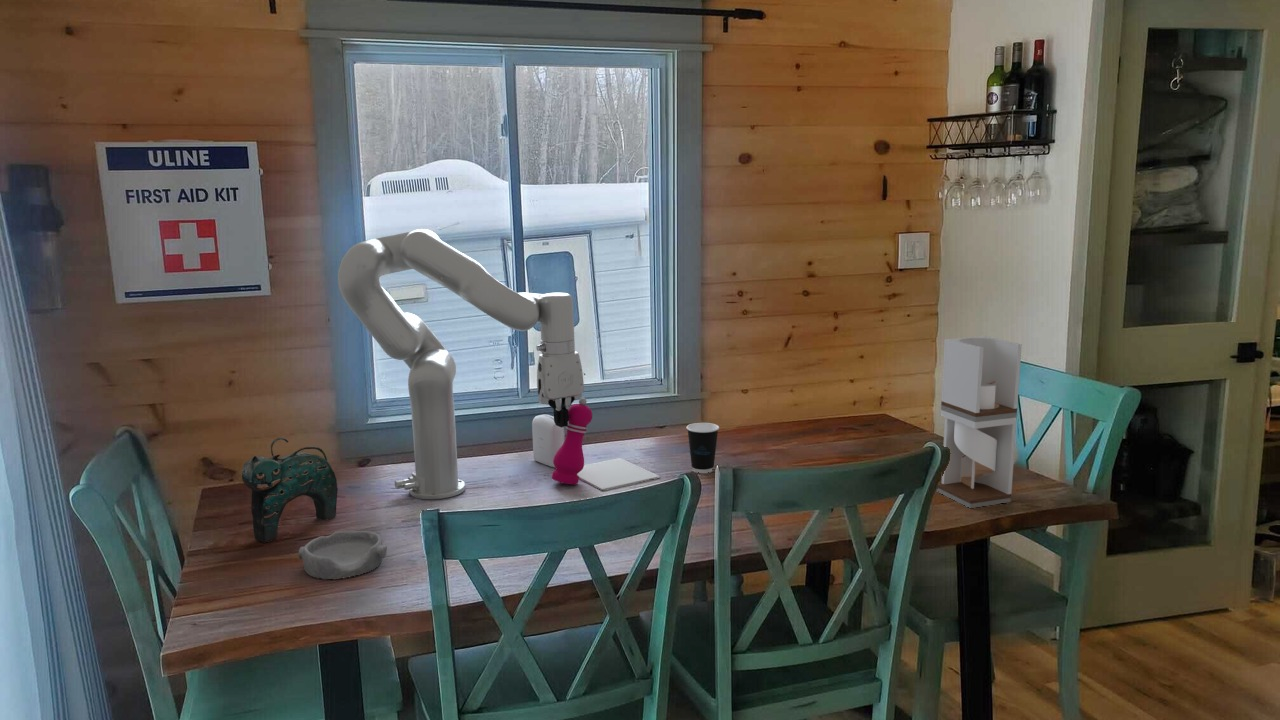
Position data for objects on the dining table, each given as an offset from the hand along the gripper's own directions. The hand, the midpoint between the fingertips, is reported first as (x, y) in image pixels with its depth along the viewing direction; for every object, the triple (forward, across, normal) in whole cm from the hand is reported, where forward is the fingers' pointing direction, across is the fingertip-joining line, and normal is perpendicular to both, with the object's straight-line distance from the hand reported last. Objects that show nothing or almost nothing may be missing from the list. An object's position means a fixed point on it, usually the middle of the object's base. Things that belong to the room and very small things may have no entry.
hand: (561, 425), depth 212 cm
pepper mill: (+14, 0, 0) cm, 14 cm away
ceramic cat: (+14, -59, +8) cm, 61 cm away
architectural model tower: (+16, +71, -59) cm, 93 cm away
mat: (+14, +13, 0) cm, 20 cm away
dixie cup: (+15, +33, -10) cm, 38 cm away
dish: (+14, -56, -17) cm, 60 cm away
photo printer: (+15, +5, +17) cm, 23 cm away
